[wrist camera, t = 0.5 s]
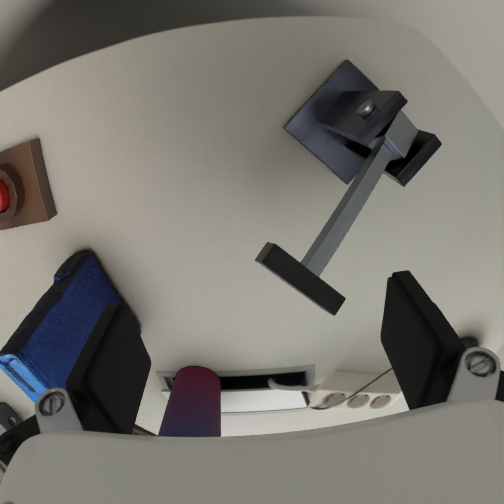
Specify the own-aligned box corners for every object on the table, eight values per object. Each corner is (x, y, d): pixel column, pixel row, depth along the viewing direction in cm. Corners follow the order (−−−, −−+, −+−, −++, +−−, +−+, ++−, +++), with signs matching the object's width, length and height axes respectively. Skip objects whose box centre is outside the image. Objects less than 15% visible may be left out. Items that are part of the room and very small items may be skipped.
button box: (-2, 226, 36) (-18, 238, 32) (-19, 161, 31) (-37, 169, 28) (57, 214, 35) (40, 226, 32) (39, 138, 31) (20, 144, 27)
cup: (178, 351, 45) (150, 484, 26) (239, 373, 47) (235, 503, 28) (160, 386, 49) (135, 502, 30) (214, 405, 51) (205, 519, 32)
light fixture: (50, 428, 60) (22, 504, 38) (12, 422, 62) (-16, 486, 40) (25, 401, 55) (-12, 481, 34) (-11, 396, 57) (-45, 463, 35)
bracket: (344, 182, 34) (393, 233, 22) (282, 127, 31) (303, 147, 19) (402, 119, 31) (477, 139, 18) (344, 60, 28) (402, 42, 16)
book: (66, 254, 38) (-19, 357, 20) (94, 241, 37) (6, 349, 19) (120, 335, 44) (74, 449, 26) (149, 328, 43) (108, 450, 25)
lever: (321, 308, 21) (339, 318, 19) (251, 258, 20) (264, 264, 17) (412, 153, 22) (433, 149, 20) (361, 98, 21) (381, 88, 18)
